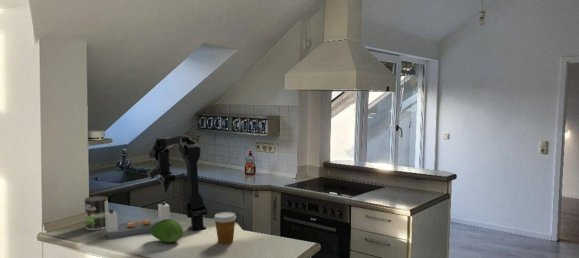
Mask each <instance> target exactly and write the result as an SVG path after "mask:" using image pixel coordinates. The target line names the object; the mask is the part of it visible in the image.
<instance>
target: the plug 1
mask: <svg viewBox="0 0 579 258" xmlns="http://www.w3.org/2000/svg"><path fill="white" fill-rule="evenodd" d="M118 223H119V222H118V213H117V211H114V209H113V208H112V209H111V208H110V209H108V212H106V228H105V231H106V230H107V231H108V232H115V231H118V227H119V225H118Z"/></svg>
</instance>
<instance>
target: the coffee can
mask: <svg viewBox="0 0 579 258" xmlns="http://www.w3.org/2000/svg"><path fill="white" fill-rule="evenodd" d="M108 199H109V197H108V196H105V195H95V196H94V195H93V196H89V197H86V198H84V205H85V206H84V207H85V208H84V209H85V210H84V211H85V226H86V227H85V229H86V230H88V231H100V230H104V229H106V212H109V203H108Z"/></svg>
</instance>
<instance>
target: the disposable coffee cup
mask: <svg viewBox="0 0 579 258" xmlns="http://www.w3.org/2000/svg"><path fill="white" fill-rule="evenodd" d="M236 219H237V216H236V214H235V213H234V212H231V211H224V212H223V211H222V212H218V213H216V214H215V215H214V217H213V220H214V224H215V229H216V230H215V231H216V234H217V235H216V237H217V242H218V244H220V245H230V244H232V243H234V235H235V234H234V233H235V224H236Z"/></svg>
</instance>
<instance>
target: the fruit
mask: <svg viewBox="0 0 579 258" xmlns="http://www.w3.org/2000/svg"><path fill="white" fill-rule="evenodd" d="M149 233H150V235H151V236H153V237H154V238H155V239H157V240H159V241H161V242H163V243H168V244H170V243H171V244H173V243H176V242H177V241H179V240H180V239H181V238H182V236H183V234H184V228H183V226H182V224H180V223H179V222H178V221H177V220H175V219H171V218H170V219H165V220H162V221H160V222H157V223H156V224H154V225H153V226H152V228H151V231H150V232H149Z"/></svg>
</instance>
